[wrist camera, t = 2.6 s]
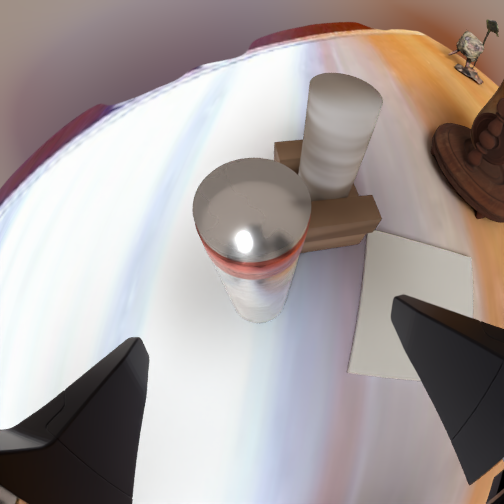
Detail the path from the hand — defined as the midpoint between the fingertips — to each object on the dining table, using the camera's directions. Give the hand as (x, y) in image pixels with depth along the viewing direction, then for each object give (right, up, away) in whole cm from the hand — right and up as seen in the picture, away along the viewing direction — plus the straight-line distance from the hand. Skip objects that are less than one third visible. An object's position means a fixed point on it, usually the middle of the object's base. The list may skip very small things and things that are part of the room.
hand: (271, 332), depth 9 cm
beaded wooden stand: (+27, +12, +16) cm, 34 cm away
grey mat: (+14, -2, +10) cm, 17 cm away
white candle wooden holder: (+5, +6, +15) cm, 16 cm away
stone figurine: (+53, +47, +31) cm, 77 cm away
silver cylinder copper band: (0, -1, +12) cm, 12 cm away
